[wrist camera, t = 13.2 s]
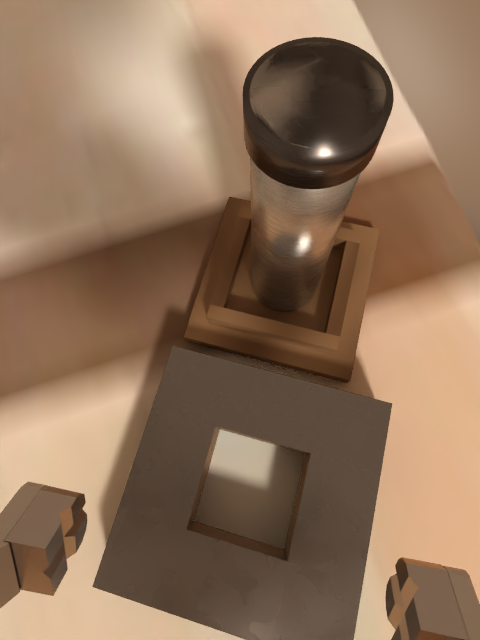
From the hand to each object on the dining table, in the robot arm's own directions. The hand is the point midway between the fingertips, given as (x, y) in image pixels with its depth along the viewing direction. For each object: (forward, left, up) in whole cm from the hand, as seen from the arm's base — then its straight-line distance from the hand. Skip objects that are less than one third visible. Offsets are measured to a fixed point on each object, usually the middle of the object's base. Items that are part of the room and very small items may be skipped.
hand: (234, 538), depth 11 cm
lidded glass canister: (-1, +12, -12) cm, 17 cm away
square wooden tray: (-1, +12, -13) cm, 18 cm away
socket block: (0, 0, -13) cm, 13 cm away
